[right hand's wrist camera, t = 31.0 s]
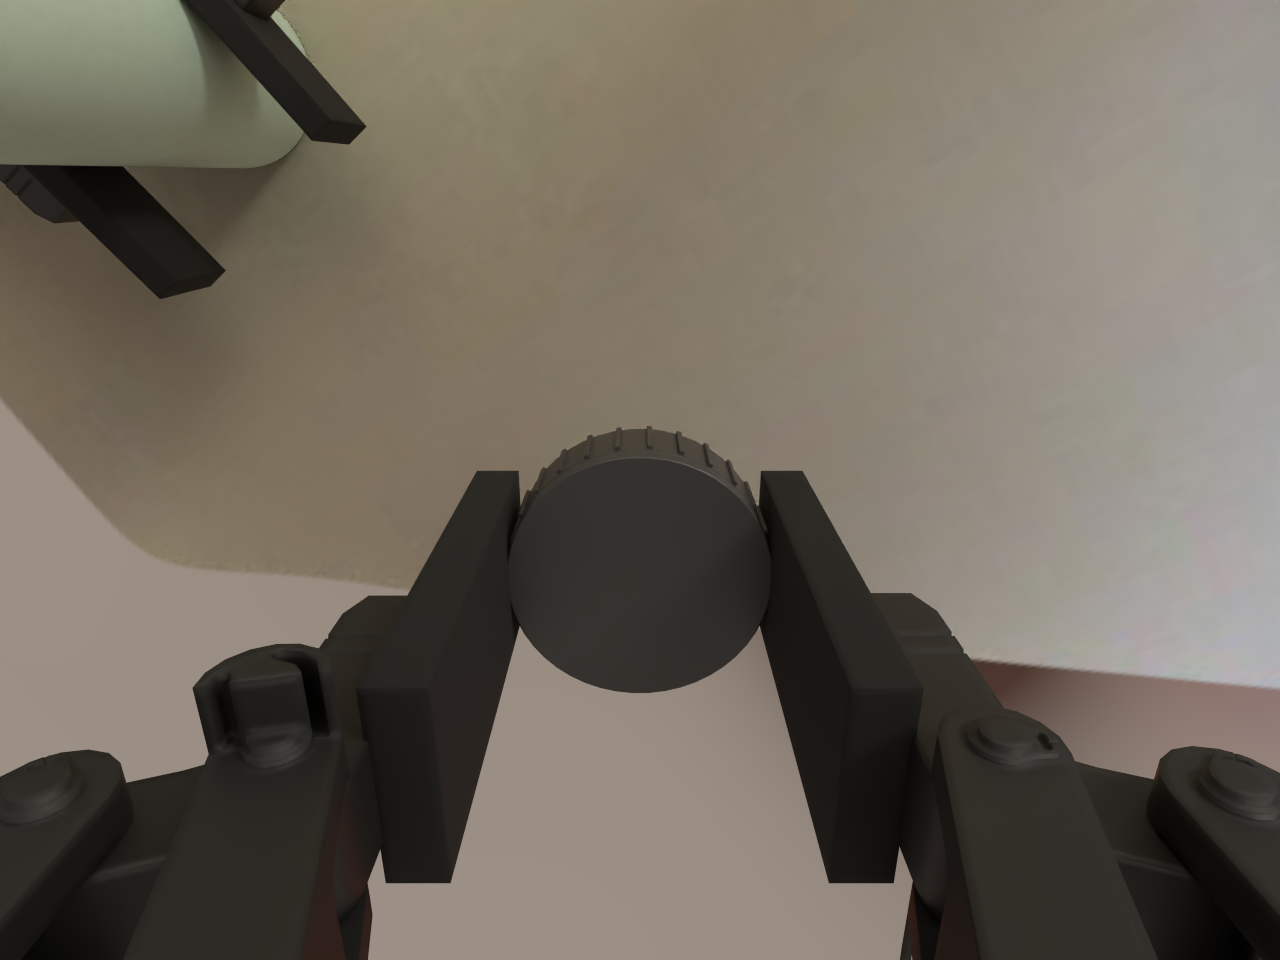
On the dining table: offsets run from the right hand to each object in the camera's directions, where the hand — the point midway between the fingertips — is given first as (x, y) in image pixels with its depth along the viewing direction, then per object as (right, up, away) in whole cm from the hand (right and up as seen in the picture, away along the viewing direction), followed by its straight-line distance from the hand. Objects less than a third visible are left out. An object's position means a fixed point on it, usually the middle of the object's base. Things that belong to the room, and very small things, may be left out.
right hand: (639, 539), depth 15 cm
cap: (0, -1, -1) cm, 1 cm away
